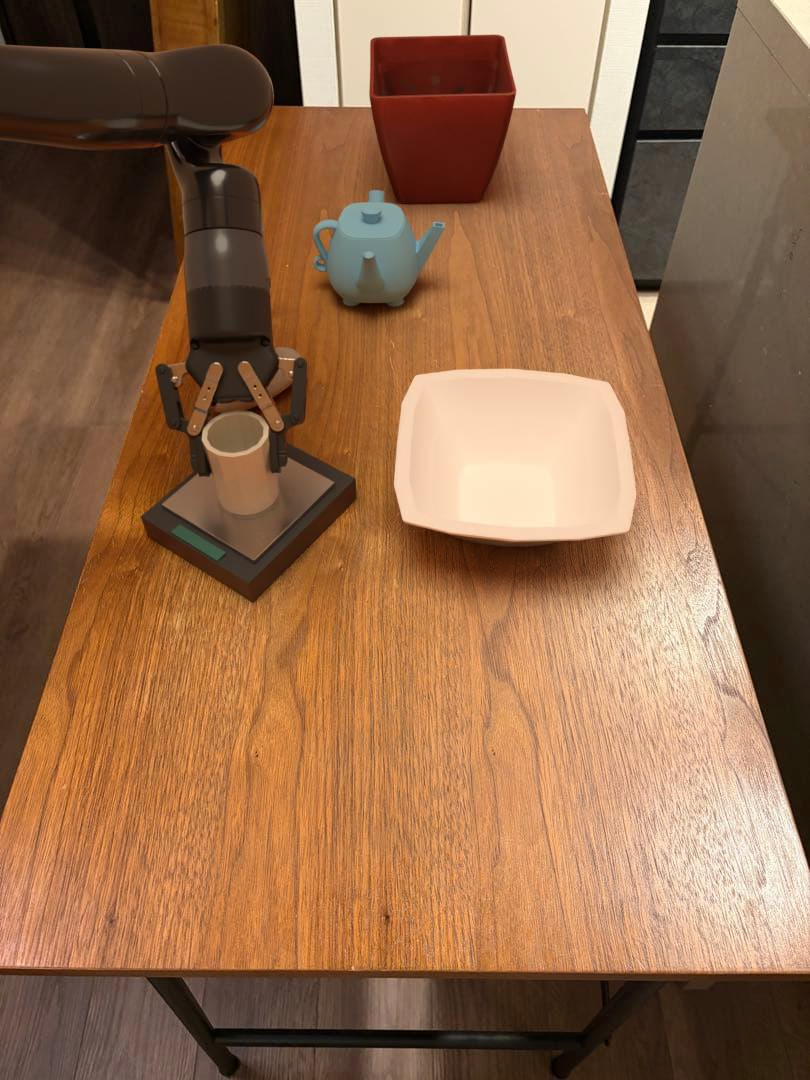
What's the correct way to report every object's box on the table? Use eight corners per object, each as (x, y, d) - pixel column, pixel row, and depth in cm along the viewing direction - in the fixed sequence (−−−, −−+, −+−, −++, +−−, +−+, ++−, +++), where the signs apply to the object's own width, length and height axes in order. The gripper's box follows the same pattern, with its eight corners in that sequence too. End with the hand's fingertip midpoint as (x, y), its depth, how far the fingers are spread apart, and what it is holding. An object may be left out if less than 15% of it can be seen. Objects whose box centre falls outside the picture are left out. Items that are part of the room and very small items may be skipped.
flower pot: (373, 216, 121) (368, 95, 108) (374, 152, 134) (370, 35, 120) (506, 215, 122) (517, 93, 108) (495, 150, 134) (504, 34, 121)
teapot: (454, 293, 109) (457, 212, 101) (371, 336, 104) (367, 254, 95) (380, 244, 117) (377, 164, 108) (299, 282, 111) (289, 201, 103)
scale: (253, 602, 79) (248, 582, 76) (147, 536, 84) (139, 514, 81) (357, 498, 87) (355, 476, 85) (255, 443, 92) (250, 421, 90)
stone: (318, 363, 97) (240, 392, 88) (299, 401, 101) (223, 432, 93) (285, 329, 98) (205, 354, 89) (268, 367, 102) (190, 396, 94)
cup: (251, 525, 80) (237, 466, 74) (204, 497, 82) (187, 438, 76) (292, 486, 83) (282, 427, 77) (245, 461, 85) (232, 401, 79)
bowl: (604, 431, 93) (619, 371, 87) (625, 601, 79) (645, 545, 72) (405, 423, 94) (404, 363, 88) (389, 590, 80) (387, 533, 73)
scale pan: (254, 564, 78) (253, 560, 77) (162, 508, 82) (160, 504, 82) (335, 486, 84) (335, 482, 84) (245, 437, 89) (244, 433, 88)
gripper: (136, 285, 73) (152, 480, 74) (304, 278, 73) (316, 472, 75) (158, 300, 80) (172, 478, 82) (310, 294, 81) (320, 470, 82)
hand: (240, 474), depth 78 cm, fingers closed on cup, 6 cm apart
